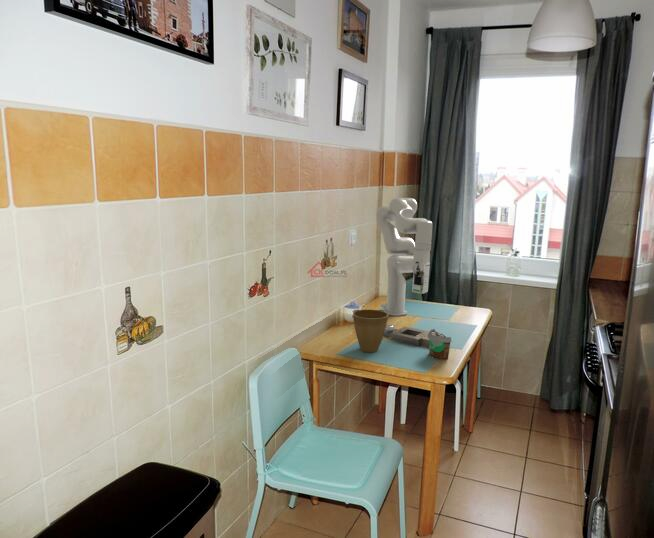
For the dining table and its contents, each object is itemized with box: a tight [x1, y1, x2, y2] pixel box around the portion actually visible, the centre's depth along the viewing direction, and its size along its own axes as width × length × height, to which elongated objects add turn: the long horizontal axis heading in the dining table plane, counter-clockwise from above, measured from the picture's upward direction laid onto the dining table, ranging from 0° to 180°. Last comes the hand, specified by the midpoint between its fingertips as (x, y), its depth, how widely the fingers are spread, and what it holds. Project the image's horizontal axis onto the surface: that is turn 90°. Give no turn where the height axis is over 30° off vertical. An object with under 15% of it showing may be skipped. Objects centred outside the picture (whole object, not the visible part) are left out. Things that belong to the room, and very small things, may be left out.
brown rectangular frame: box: [391, 325, 430, 347], centre depth 235 cm, size 21×14×4 cm, turn 55°
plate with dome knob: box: [383, 324, 421, 347], centre depth 239 cm, size 21×14×4 cm, turn 55°
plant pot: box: [352, 308, 389, 353], centre depth 221 cm, size 15×15×16 cm
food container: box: [427, 328, 452, 361], centre depth 215 cm, size 12×6×10 cm, turn 23°
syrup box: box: [411, 262, 431, 295], centre depth 248 cm, size 6×6×14 cm
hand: (420, 283), depth 249 cm, fingers closed on syrup box, 6 cm apart
